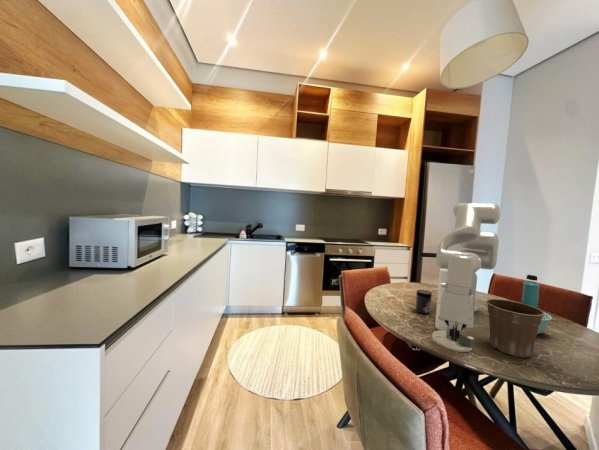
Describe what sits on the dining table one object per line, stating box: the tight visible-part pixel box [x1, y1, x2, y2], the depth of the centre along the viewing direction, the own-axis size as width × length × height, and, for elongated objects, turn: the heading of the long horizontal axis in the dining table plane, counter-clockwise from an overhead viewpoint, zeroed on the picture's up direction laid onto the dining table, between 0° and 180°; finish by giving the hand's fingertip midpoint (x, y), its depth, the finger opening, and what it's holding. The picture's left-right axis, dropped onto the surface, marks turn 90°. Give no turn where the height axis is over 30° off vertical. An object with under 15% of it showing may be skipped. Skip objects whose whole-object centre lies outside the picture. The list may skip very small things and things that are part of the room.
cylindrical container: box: [434, 268, 456, 331], centre depth 107 cm, size 7×7×25 cm
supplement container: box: [414, 289, 433, 316], centre depth 123 cm, size 7×7×10 cm
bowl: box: [537, 312, 552, 335], centre depth 109 cm, size 16×16×8 cm
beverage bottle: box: [521, 274, 541, 309], centre depth 129 cm, size 6×7×20 cm
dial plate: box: [432, 329, 473, 353], centre depth 95 cm, size 13×13×2 cm
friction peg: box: [446, 326, 475, 349], centre depth 92 cm, size 10×4×4 cm, turn 21°
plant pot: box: [485, 298, 546, 359], centre depth 92 cm, size 16×16×16 cm
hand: (453, 339), depth 90 cm, fingers closed
